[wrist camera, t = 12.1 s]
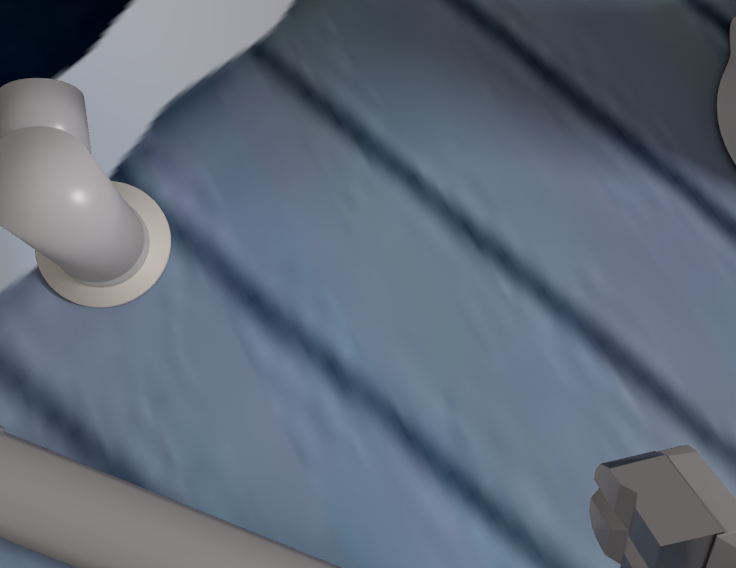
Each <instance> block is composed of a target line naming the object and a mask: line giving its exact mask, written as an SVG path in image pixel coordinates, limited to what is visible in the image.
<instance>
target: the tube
mask: <svg viewBox="0 0 736 568" xmlns="http://www.w3.org/2000/svg"><path fill="white" fill-rule="evenodd" d="M0 537H1V538H3V539H6V540H8V541H11V542H13V543H16V544H18V545H21V546H23V547H26V548H28V549H31V550H33V551H36V552H38V553H41V554H43V555H46V556H48V557H51V558H53V559H56V560H58V561H61V562H63V563H66V564H68V565H71V566H73V567H76V568H340V567H338V566H335V565H333V564H331V563H328V562H326V561H323V560H321V559H318V558H316V557H313V556H311V555H308V554H306V553H303V552H301V551H298V550H296V549H293V548H291V547H288V546H286V545H283V544H281V543H278V542H276V541H274V540H271V539H269V538H266V537H264V536H261V535H259V534H256V533H254V532H251V531H249V530H246V529H244V528H241V527H239V526H236V525H234V524H231V523H229V522H226V521H224V520H222V519H219V518H217V517H214V516H212V515H209V514H207V513H204V512H202V511H199V510H197V509H194V508H192V507H189V506H187V505H184V504H182V503H179V502H177V501H174V500H172V499H169V498H167V497H165V496H162V495H160V494H157V493H155V492H152V491H150V490H147V489H145V488H142V487H140V486H137V485H135V484H132V483H130V482H127V481H125V480H122V479H120V478H117V477H115V476H112V475H110V474H108V473H105V472H103V471H100V470H98V469H95V468H93V467H90V466H88V465H85V464H83V463H80V462H78V461H75V460H73V459H70V458H68V457H65V456H63V455H60V454H58V453H55V452H53V451H51V450H48V449H46V448H43V447H41V446H38V445H36V444H33V443H31V442H28V441H26V440H23V439H21V438H18V437H16V436H13V435H11V434H9V433H7V432H5V430H4V427H3V426H1V425H0Z"/></svg>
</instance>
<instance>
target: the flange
mask: <svg viewBox="0 0 736 568" xmlns="http://www.w3.org/2000/svg"><path fill="white" fill-rule="evenodd" d="M111 182H112V183H113V185H114V186H115V187H116V189H117V190H118V191H119V193H120V194H121V195H122V197H123V198H124V199H125V201H126V202H127V203H128V204H129V205H130V206H131V207H132V208H134V209H135V210H136V211H137V213H138V214H139V215H140V217H141V218H142V219H143V221H144V223H145V224H146V227H147V229H148V233H149V239H150V245H149V252H148V255H147V258H146V260H145V262H144V264H143V265H142V267H141V268H140V270H139V271H138V272H137V273H136V274H135V275H134V276H132V277H131V278H130V279H128V280H127V281H125V282H123V283H121V284H118V285H115V286H111V287H104V288H98V287H90V286H87V285H84V284H81V283H79V282H77V281H76V280H74V279H73V278H71V277H70V276H69V275H67V274H66V273H65V272H64V271H63V270H62V269H61V268H60V266H58V265H57V264H56V263H54V262H53V261H51V260H50V259H48V258H47V257H45V256H44V255H43V254H41V253H40V252H38V251H37V250H35V253H36V260H37V264H38V267H39V269H40V272H41V274H42V275H43V277H44V279H45V280H46V282H47V283H48V284H49V285H50V287H51V288H53V289H54V290H55V291H56V292H57V293H58V294H60V295H61V296H62V297H64V298H66V299H68V300H70V301H72V302H74V303H76V304H79V305H83V306H87V307H94V308H108V307H115V306H119V305H122V304H126V303H128V302H130V301H133V300H135V299H136V298H138V297H140V296H141V295H143V294H144V293H145V292H147V291H148V290H149V289H150V288H151V287H152V286H153V285H154V284H155V283H156V282H157V280H158V279H159V278H160V276H161V275H162V273H163V271H164V270H165V267H166V265H167V263H168V259H169V256H170V250H171V234H170V229H169V225H168V222H167V220H166V217H165V215H164V214H163V212H162V210H161V209H160V207H159V206H158V205H157V203H156V202H155V201H154V200H153V199H152V198H151V197H150V196H149V195H147V194H146V193H144V192H143V191H141V190H139V189H138V188H136V187H133V186H131V185H128V184H125V183H121V182H114V181H111Z"/></svg>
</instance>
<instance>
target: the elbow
mask: <svg viewBox="0 0 736 568" xmlns="http://www.w3.org/2000/svg"><path fill="white" fill-rule="evenodd" d="M0 225H1V226H2V227H4V228H5V229H7V230H8V231H9V232H11V233H12V234H14V235H15V236H17V237H18V238H20V239H21V240H22V241H24V242H25V243H27V244H28V245H30V246H31V247H32V248H34V249H35V250H37V251H38V252H40V253H41V254H43V255H44V256H45V257H47V258H48V259H50V260H51V261H53V262H54V263H56V264H57V265H58V266H60V268H61V269H62V270H63V271H64V272H65V273H66V274H67V275H69V276H70V277H71V278H73V279H74V280H76V281H77V282H79V283H81V284H84V285H87V286H90V287H98V288H104V287H111V286H115V285H118V284H121V283H123V282H125V281H127V280H128V279H130V278H131V277H132V276H134V275H135V274H136V273H137V272H138V271H139V270H140V268H141V267H142V265H143V264H144V262H145V260H146V258H147V255H148V252H149V245H150V239H149V233H148V229H147V227H146V224H145V223H144V221H143V219H142V218H141V217H140V215H139V214H138V213H137V211H136V210H135V209H134V208H132V207H131V206H130V205H129V204H128V203H127V202H126V201H125V199H124V198H123V197H122V195H121V194H120V193H119V191H118V190H117V189H116V187H115V186H114V185H113V183H112V182H111V181H110V179H109V178H108V177H107V175H106V174H105V173H104V171H103V170H102V169H101V167H100V166H99V165H98V163H97V162H96V161H95V159H94V158H93V157H92V155H91V147H90V140H89V132H88V124H87V116H86V109H85V102H84V96H83V94H82V92H81V91H80V90H79V89H77V88H76V87H74V86H72V85H70V84H68V83H65V82H62V81H58V80H53V79H46V78H29V79H21V80H16V81H13V82H10V83H8V84H5V85H4V86H2V87H1V88H0Z"/></svg>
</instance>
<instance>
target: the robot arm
mask: <svg viewBox="0 0 736 568" xmlns="http://www.w3.org/2000/svg"><path fill="white" fill-rule="evenodd" d="M730 49H731V54H730V58H729V61H728V64H727V66H726V69H725V71H724V73H723V76H722V78H721V81H720V85H719V89H718V95H717V117H718V123H719V128H720V132H721V135H722V138H723V141H724V143H725V146H726V148H727V150H728V152H729V154H730V156H731V158H732V160H733V161H734V163H735V164H736V16H735V17H734V18H733V20H732V22H731V25H730ZM594 480H595V481H596V483H597V485H598V486H599V489H598V490H597V492H596V493H595V494H594V495H593V496H592V497H591V502H590V510H589V512H590V517H591V523H592V528H593V530H594V533H595V536H596V538H597V541H598V543H599V544H600V546H601V548H602V550H603V552H604V554H605V555H606V556H608V557H610V558H611V559H613V560H614V561H616V562H617V563H619V564H621V568H736V499H735V498H734V496H733V495H732V494H731V493H730V491H729V490H728V489H727V488H726V487H725V485H724V484H723V483H722V482H721V480H720V479H719V478H718V477H717V476H716V474H715V473H714V472H713V471H712V469H711V468H710V467H709V466H708V465H707V463H706V462H705V461H704V460H703V459H702V457H701V456H700V455H699V454H698V452H697V451H696V450H695V449H694V448H692V447H690V446H689V445H684V446H679V447H674V448H670V449H666V450H662V451H658V452H656V451H653V452H648V453H644V454H640V455H636V456H631V457H627V458H623V459H618V460H614V461H610V462H606V463H601V464H600V465H599V466H598V467H597V468H596V473H595V478H594Z"/></svg>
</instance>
